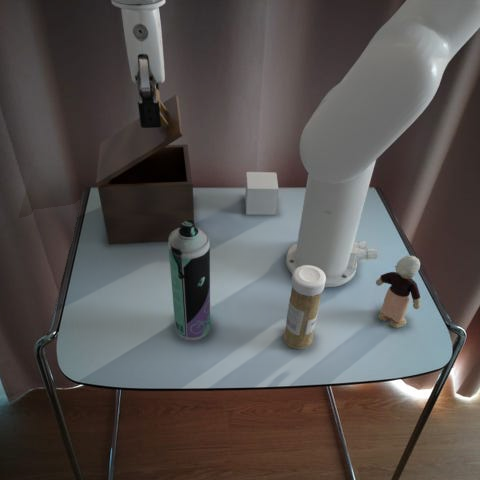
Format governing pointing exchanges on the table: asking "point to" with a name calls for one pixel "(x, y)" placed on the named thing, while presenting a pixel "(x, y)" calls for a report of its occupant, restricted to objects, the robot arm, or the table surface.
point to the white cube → (261, 193)
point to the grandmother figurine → (400, 291)
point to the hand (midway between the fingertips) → (151, 116)
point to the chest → (149, 198)
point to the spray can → (190, 280)
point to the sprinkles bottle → (303, 305)
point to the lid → (138, 141)
